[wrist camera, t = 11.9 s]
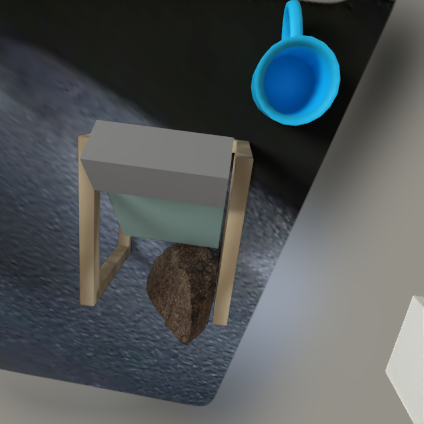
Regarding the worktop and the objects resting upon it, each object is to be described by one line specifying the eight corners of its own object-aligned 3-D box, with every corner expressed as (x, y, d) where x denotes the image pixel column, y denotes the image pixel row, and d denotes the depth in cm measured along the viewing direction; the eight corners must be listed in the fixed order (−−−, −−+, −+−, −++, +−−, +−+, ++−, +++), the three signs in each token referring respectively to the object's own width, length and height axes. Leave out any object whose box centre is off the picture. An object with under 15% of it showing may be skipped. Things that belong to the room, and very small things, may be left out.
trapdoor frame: (120, 251, 49) (80, 304, 36) (124, 125, 43) (78, 136, 30) (229, 266, 48) (226, 325, 36) (248, 141, 42) (253, 159, 30)
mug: (318, 118, 41) (337, 123, 33) (251, 122, 42) (254, 127, 34) (323, 7, 37) (346, -17, 29) (250, 13, 38) (253, -9, 30)
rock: (158, 343, 37) (219, 356, 43) (213, 271, 35) (268, 294, 41) (130, 276, 46) (182, 294, 52) (172, 216, 45) (221, 242, 51)
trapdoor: (129, 217, 43) (120, 248, 41) (96, 119, 29) (79, 158, 27) (220, 230, 43) (216, 261, 41) (233, 137, 29) (228, 178, 26)
